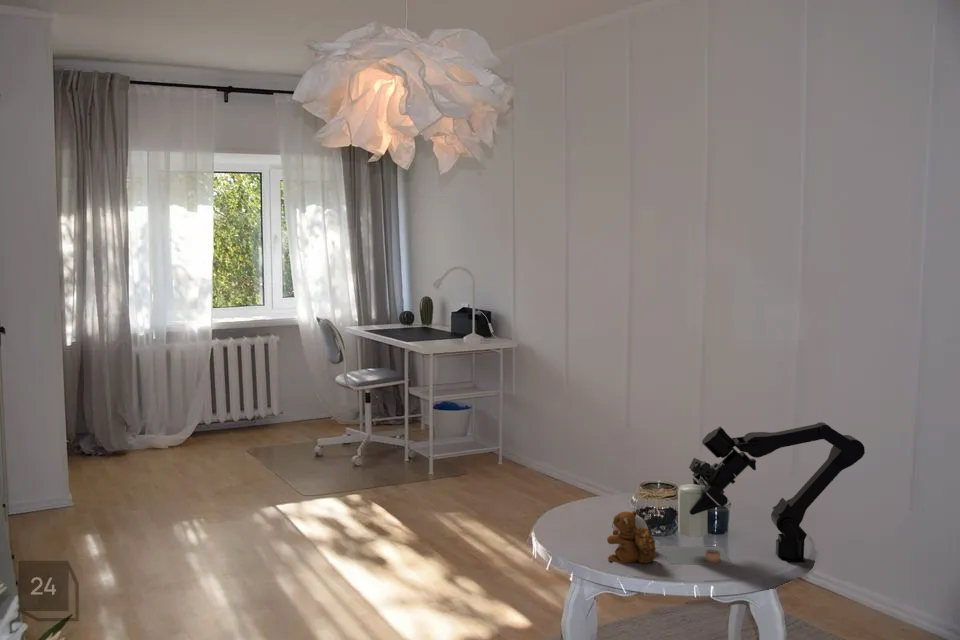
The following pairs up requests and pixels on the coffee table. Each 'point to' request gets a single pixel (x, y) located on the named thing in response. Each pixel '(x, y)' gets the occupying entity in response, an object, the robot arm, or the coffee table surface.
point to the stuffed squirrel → (631, 540)
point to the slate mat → (693, 555)
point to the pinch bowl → (712, 556)
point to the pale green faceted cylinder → (686, 501)
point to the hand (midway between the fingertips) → (687, 509)
